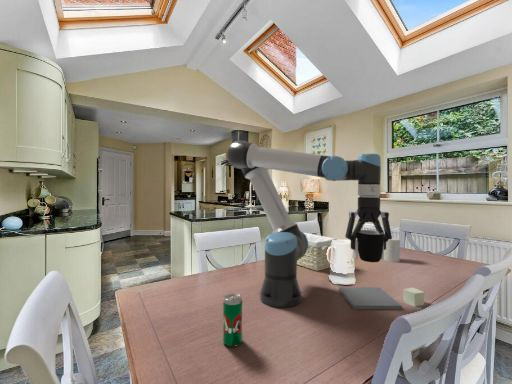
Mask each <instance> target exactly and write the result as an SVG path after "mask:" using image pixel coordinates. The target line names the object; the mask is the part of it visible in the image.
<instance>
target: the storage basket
mask: <svg viewBox="0 0 512 384" xmlns="http://www.w3.org/2000/svg"><path fill="white" fill-rule="evenodd" d="M303 233H304V234H305V235H306V237H307V239H308V249H307V251H306V253H305V255H304V256H303V257H302V258H300V259H299V260H298V261H297V266H300V267H301V266H302V267H303V268H306V269H309V270H310V269H311V270H312V271H317V272H318V271H322V270H326V269H329V268H331V267H330V264H329V262H328V260H327V255H326V253H327V249H328V247H329V246H330V245H331V242H332V240H337V241H338V239H337V238H333V237H329V236H323V235H318V234H314V233H313V234H312V233H308V232H303Z"/></svg>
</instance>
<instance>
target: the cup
mask: <svg viewBox="0 0 512 384" xmlns="http://www.w3.org/2000/svg"><path fill="white" fill-rule="evenodd" d="M400 246H401V239H400V238H397V237H392V239H389V240H388V241H387V242H386V250H384V260H383V261H385V260H386V262H389V261H390V262H389V263H391V262H392V263H398V262H399V263H400V259H401V255H400V254H401V253H400V252H401V251H400V249H401V248H400Z"/></svg>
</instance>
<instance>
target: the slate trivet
mask: <svg viewBox="0 0 512 384" xmlns="http://www.w3.org/2000/svg"><path fill="white" fill-rule="evenodd" d="M338 291H339V292H340V294H341V295H342V296H343V297H344V298H345V300H346V301H347V302H348V303H349V305H350V306H351V307H352V308H353V310H402V307H403V306H402V305H401V304H400V303H399V302H398V301H397V300H396V299H394V298H393V297H392V296H390V295H389V294H388V293H387V292H386V291H385V290H383V289H382V288H381V287H379V286H373V287H372V286H369V287H368V286H339V287H338Z"/></svg>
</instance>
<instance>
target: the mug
mask: <svg viewBox="0 0 512 384" xmlns="http://www.w3.org/2000/svg"><path fill="white" fill-rule="evenodd" d="M383 232H384V231H383ZM383 232H381V234H380V233H379V232H378V231H377V230H372V229H370V230H369V229H361V231H360V232H358V237H357V239H356V241H358V258H359V259H360V260H361V261H363V262H367V263H379V262H380V261H381V260H382V259H381V257H382V252H383V245H384V234H385V232H384V233H383Z"/></svg>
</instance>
